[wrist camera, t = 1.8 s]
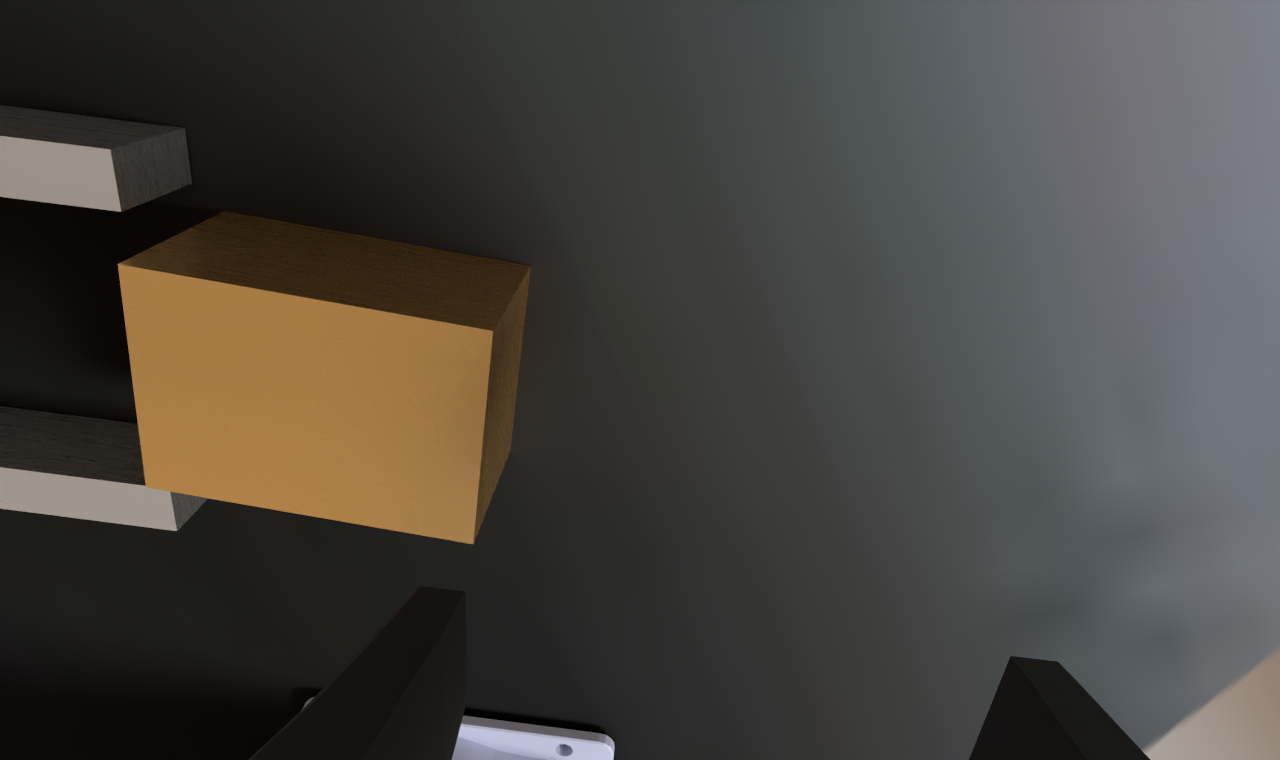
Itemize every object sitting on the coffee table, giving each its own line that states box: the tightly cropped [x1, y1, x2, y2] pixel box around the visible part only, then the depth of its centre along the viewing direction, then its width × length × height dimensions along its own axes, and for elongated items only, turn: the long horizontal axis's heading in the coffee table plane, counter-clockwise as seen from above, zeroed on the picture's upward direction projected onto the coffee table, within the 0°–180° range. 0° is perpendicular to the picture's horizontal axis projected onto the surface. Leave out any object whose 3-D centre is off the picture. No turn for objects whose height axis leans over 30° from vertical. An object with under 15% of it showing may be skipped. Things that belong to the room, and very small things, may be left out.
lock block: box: [118, 211, 531, 544], centre depth 18 cm, size 7×5×4 cm
